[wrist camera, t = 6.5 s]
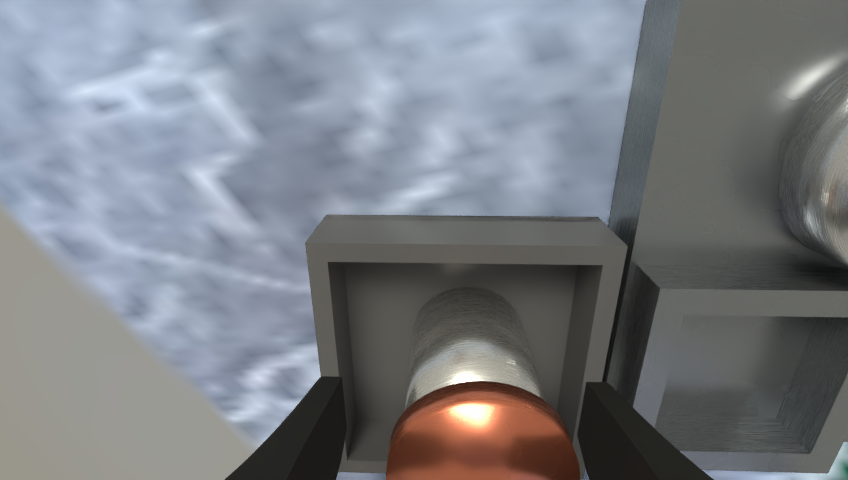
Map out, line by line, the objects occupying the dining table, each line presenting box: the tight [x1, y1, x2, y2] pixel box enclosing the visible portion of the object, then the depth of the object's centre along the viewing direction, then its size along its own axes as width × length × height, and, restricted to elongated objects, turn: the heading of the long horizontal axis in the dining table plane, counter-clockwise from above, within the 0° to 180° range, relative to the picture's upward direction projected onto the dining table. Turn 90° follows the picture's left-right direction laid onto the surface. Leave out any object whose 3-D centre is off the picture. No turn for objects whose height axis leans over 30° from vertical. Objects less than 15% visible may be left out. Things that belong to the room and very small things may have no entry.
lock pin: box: [386, 286, 580, 480], centre depth 13 cm, size 5×5×6 cm
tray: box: [305, 215, 628, 479], centre depth 15 cm, size 9×9×2 cm
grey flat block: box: [602, 0, 848, 473], centre depth 12 cm, size 14×10×5 cm
